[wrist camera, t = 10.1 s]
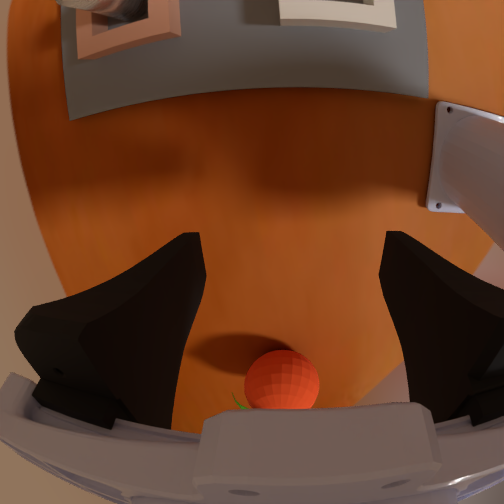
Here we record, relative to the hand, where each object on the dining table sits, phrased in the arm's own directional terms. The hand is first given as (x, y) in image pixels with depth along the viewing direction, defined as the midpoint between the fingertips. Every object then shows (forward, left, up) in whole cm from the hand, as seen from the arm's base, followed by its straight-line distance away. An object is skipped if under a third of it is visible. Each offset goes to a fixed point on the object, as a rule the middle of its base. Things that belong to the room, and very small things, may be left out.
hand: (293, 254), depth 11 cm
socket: (+9, -13, -8) cm, 18 cm away
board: (+3, -13, -9) cm, 16 cm away
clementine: (+1, +18, -10) cm, 20 cm away
